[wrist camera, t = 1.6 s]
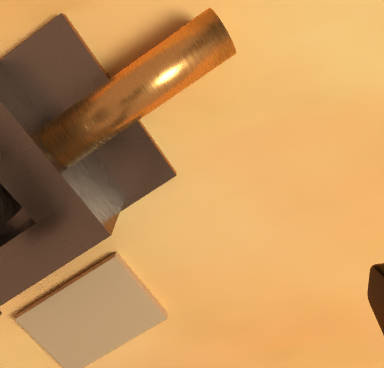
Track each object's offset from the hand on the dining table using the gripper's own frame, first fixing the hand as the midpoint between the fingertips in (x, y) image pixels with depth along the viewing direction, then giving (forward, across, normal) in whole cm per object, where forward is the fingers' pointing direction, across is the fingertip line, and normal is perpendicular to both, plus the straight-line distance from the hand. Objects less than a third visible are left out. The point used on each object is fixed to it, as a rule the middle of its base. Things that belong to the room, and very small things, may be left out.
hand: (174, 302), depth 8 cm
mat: (+12, +7, +11) cm, 18 cm away
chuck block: (+13, +6, 0) cm, 15 cm away
